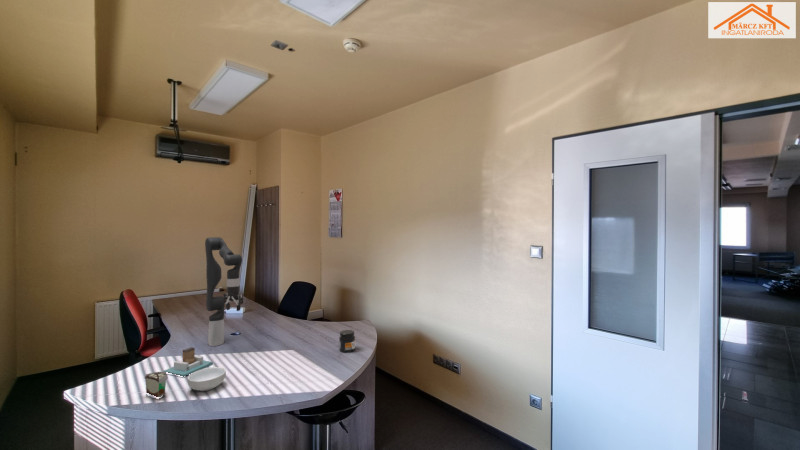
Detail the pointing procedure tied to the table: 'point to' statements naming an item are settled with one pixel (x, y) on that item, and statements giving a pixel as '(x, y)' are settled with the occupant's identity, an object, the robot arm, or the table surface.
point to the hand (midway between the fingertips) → (233, 310)
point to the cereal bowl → (206, 378)
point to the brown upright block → (189, 355)
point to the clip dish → (171, 370)
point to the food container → (156, 383)
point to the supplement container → (347, 341)
